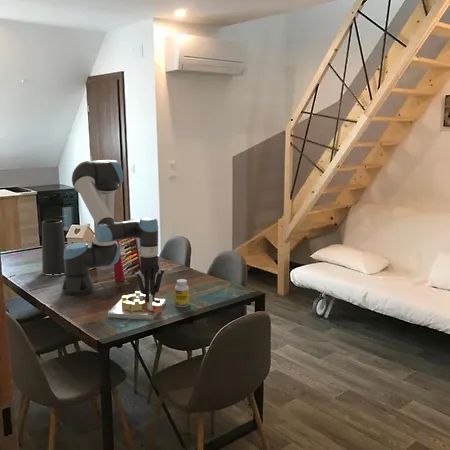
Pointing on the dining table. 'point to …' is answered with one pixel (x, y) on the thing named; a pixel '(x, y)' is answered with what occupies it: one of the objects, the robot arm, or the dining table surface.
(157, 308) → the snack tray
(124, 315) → the plate
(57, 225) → the vase
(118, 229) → the robot arm
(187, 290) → the pill bottle
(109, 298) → the dining table surface
